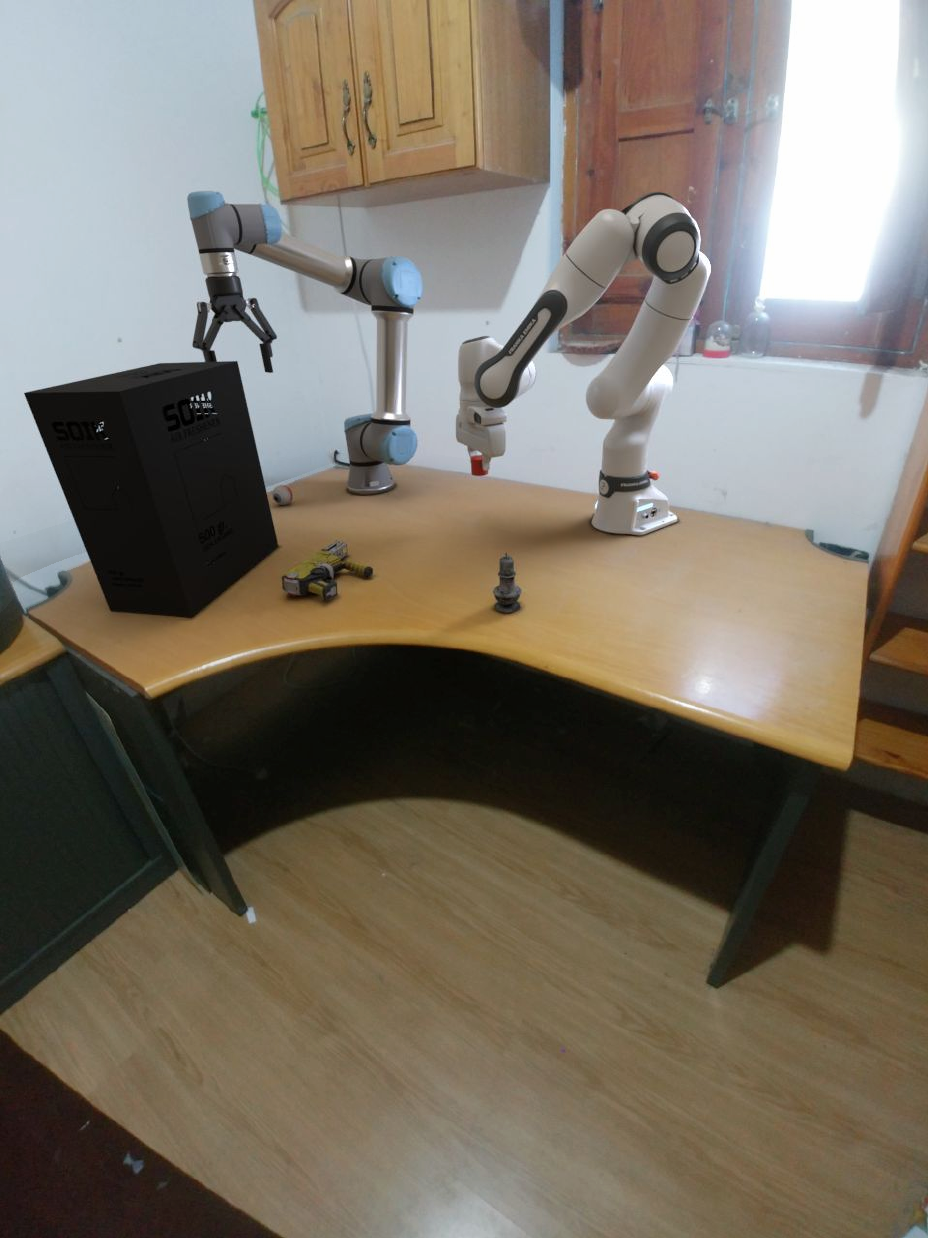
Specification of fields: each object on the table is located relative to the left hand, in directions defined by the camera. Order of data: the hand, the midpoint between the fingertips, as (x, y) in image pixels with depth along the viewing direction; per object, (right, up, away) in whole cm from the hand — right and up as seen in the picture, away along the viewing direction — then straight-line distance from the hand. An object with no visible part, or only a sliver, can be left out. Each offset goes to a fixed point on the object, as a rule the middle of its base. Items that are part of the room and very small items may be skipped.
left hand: (244, 376), depth 146 cm
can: (+57, -22, +7) cm, 62 cm away
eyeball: (-2, -23, +41) cm, 47 cm away
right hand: (+57, -20, +7) cm, 61 cm away
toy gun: (+24, -50, -7) cm, 56 cm away
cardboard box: (-9, -49, -2) cm, 49 cm away
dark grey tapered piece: (+62, -56, -22) cm, 87 cm away
